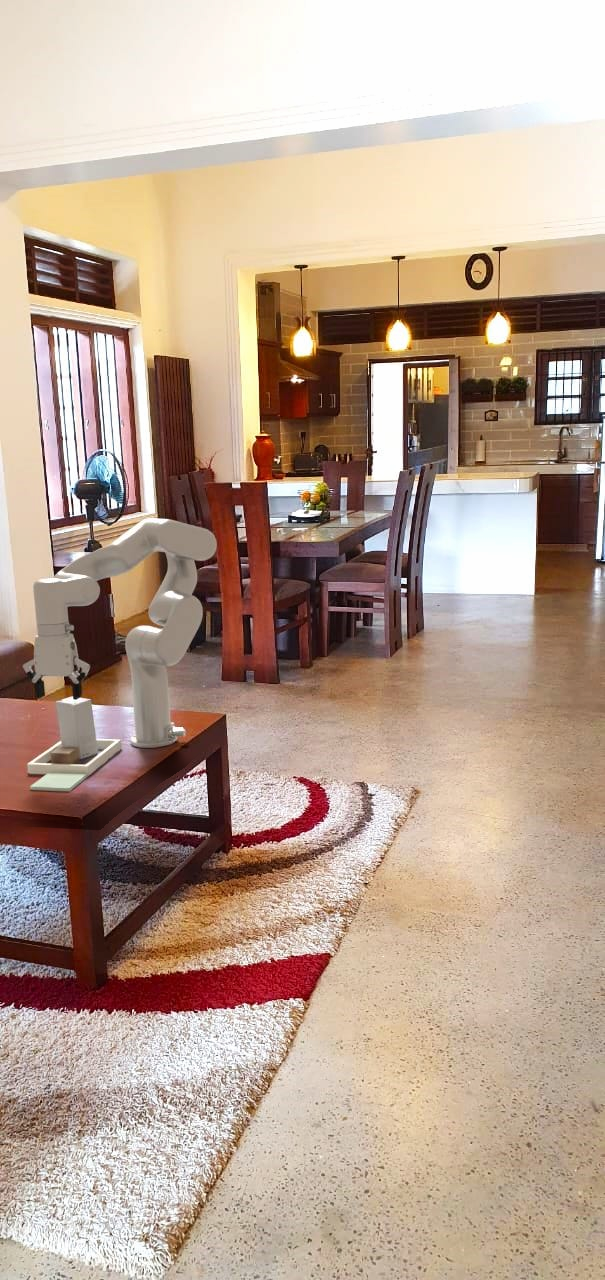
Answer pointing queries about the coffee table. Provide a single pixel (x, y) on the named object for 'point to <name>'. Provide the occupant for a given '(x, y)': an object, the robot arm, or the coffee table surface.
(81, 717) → the skincare box
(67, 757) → the walnut block
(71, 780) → the tile
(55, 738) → the coffee table surface
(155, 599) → the robot arm
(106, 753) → the cream rectangular frame
